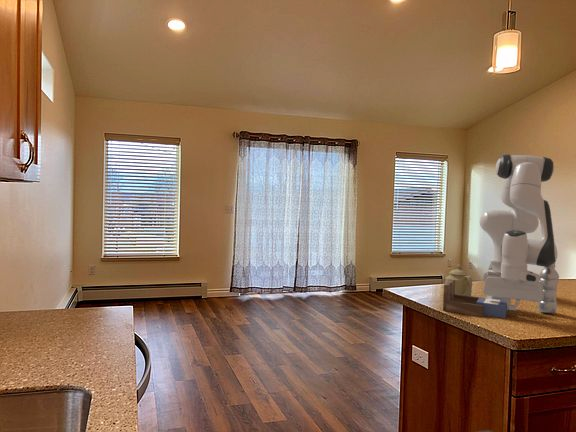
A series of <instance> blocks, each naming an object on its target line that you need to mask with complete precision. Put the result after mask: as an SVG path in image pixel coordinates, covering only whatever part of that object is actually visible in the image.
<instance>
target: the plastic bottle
mask: <svg viewBox="0 0 576 432" xmlns="http://www.w3.org/2000/svg"><path fill="white" fill-rule="evenodd" d="M555 268H556V262H555V263H554V264H552V265H550V266H548V267H544V268H543V269H542V270H541V271H540V272H539V275H540V282H541V284H542V287H543V301H542V302H537V310H538V311H539V312H541V313H544V314H555V313H556V312H557V311H558V303H557V290H558V284H559V280H560V276H559V275H560V274H559V273H558V271H557V270H556V269H555Z"/></svg>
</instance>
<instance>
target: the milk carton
mask: <svg viewBox="0 0 576 432" xmlns="http://www.w3.org/2000/svg"><path fill="white" fill-rule="evenodd" d="M501 263H502V262H501V261H494V260H491V261H490V264H489V266H488V269H487V272H499V273H501ZM500 276H501V275H500ZM486 298H488V299H495V300H502V301H505V298H502V297H494V296H486ZM511 300H512V299H510V298H509V301H508V302H509V304H510V305H512V304H511V302H512V301H511ZM507 311H509V310H508V305H507Z"/></svg>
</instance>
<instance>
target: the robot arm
mask: <svg viewBox="0 0 576 432" xmlns="http://www.w3.org/2000/svg"><path fill="white" fill-rule="evenodd" d="M495 171H496V176H498V177H499V178H501V179H504V183H503V186H502V191H501V196H500V197H501V198H500V200H501V201H502V203H503V204H504V205H505V206H507V207H509V208H511V209H510V210H503V209H502V210H500V209H499V210H496V209H495V210H488V211H484V212H483V213H482V214H481V216H480V218H479V225H480V226H479V227H481V229H482V230H483V231H484V232H485V233H487V234H488V236H489V237H490V238H491V240H492V243H493V247H494V248H493V249H494V253H493V254H494V255H493V256H494V258H493V259H494V260H493V261H501V262H502V263H501V273H499V272H488V271H487V272H485V273H484V274H483V277H482V278H483V279H482V280H483V282H484V285H483V291H482V292H483V294H484V296H485V297H487V296H494V297H502V298H505V302H506V304H507V305H508V310H507V311H514V312H517V307H518V306H519V304H520V303H521V301H528V302H535V303H538V302H542V301H543V287H542V284H541V282H540V273H539V274H538V273H535V272H533V271H530V270H528V265H534V266H537V267H538V266H540V267H544V268H545V267H548V266H550V265H552V264H554V263H555V264H556V262H557V259H558V248H557V245H556V243H555V235H554V229H553V228H554V227H553V221H552V220H553V219H552V213H551V207H550V204H549V202H548V201H547V200H545V199H544V198H543V196H542V183H543V182H548V181H550V180H551V178H552V176H553V174H554V172H555V166H554V161H553V160H552V159H551V158H549V157H547V156H543V157H542V156H539V155H538V156H537V155H529V154H525V155H523V154H509V153H508V154H502V155H501V156H500V157H499V158H498V160H497V161H496V163H495ZM539 221H540V223H539ZM539 224H540V232H541V238H540V239H529V238H528V234H532V233H534V232H536V230H537V229H538V228H539ZM500 275H501V276H500ZM509 298H510V299H511V300H515V304H514V305H512V304H511V305H510V304H509V302H508V301H509Z"/></svg>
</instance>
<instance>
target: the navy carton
mask: <svg viewBox="0 0 576 432" xmlns="http://www.w3.org/2000/svg"><path fill="white" fill-rule="evenodd" d="M476 304H477V305H483V316H485V315H487V317H491V316H493V317H492V318H498V317H500V318H499V319H506V316H507V314H508V310H507V304H506V302H505V301H502V300H495V299H487V297H481V298H479V299H478V300H477V302H476Z"/></svg>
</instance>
